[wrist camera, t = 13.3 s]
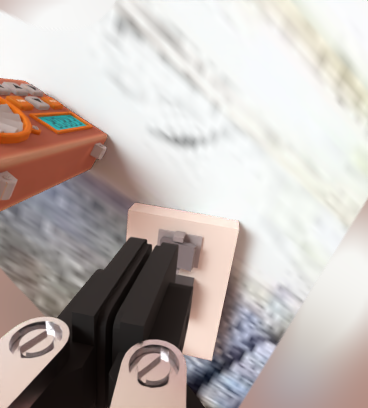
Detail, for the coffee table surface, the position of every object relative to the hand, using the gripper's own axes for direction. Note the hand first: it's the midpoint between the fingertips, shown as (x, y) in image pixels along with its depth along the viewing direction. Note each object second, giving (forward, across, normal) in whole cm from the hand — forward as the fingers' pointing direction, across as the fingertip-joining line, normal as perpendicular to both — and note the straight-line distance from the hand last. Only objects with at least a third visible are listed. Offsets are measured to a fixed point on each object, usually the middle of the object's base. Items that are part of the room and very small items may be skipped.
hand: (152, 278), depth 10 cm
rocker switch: (+24, +3, +12) cm, 27 cm away
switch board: (+28, +3, +19) cm, 34 cm away
